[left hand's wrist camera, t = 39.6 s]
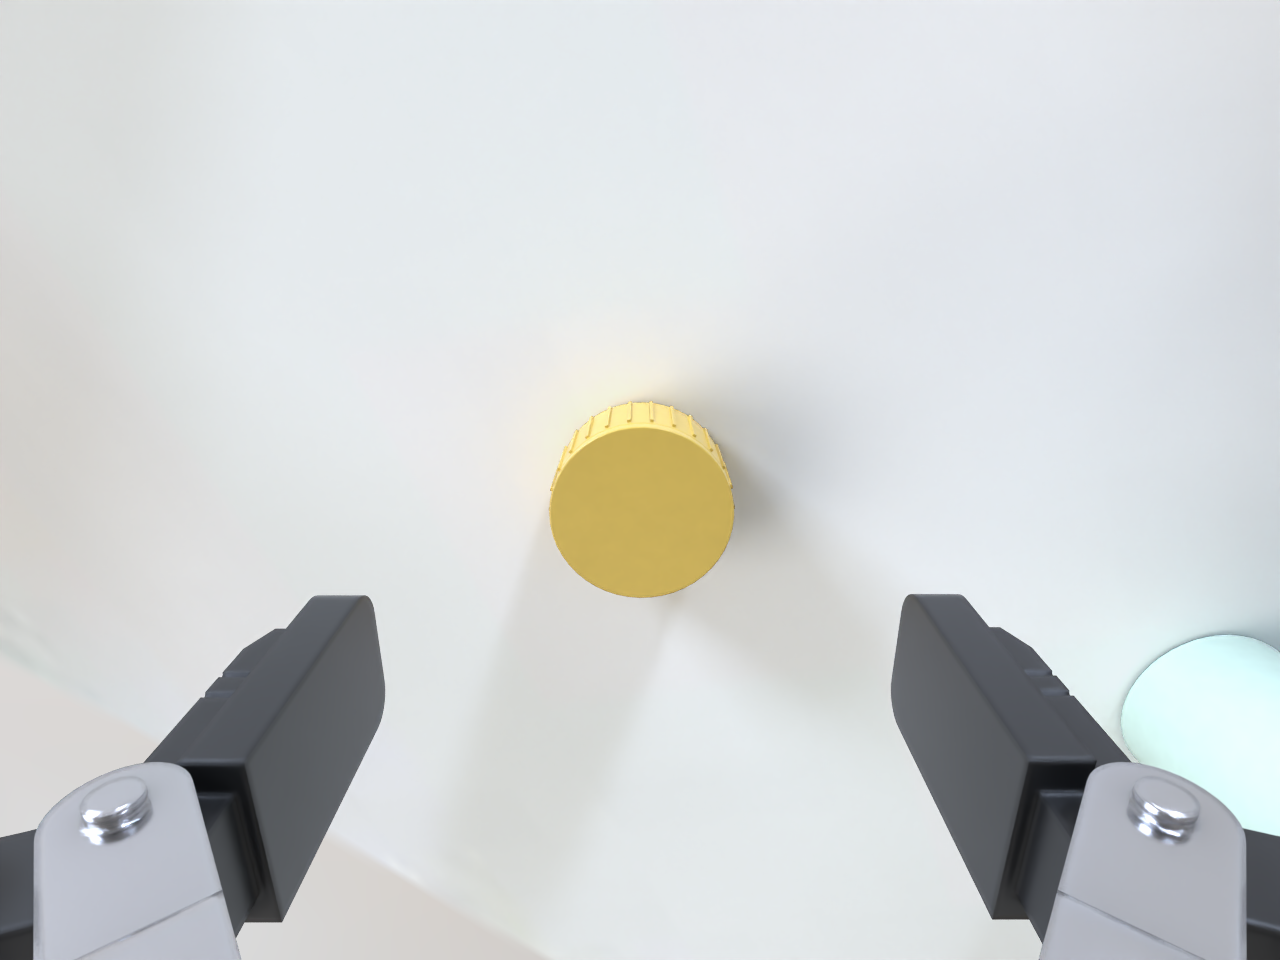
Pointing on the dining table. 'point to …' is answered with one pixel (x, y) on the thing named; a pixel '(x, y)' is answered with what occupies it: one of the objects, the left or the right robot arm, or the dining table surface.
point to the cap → (641, 501)
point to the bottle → (1214, 723)
